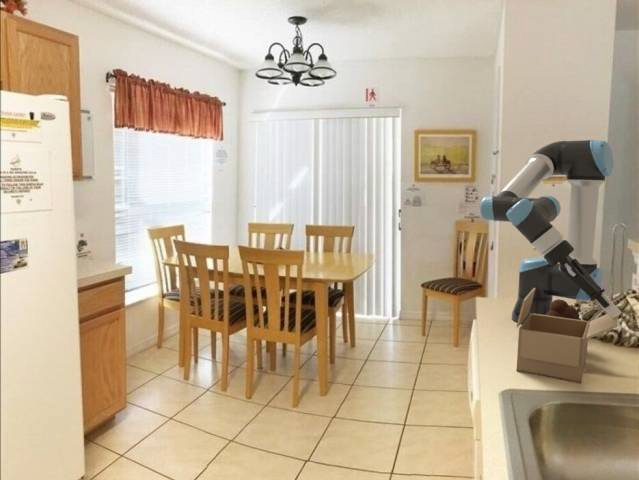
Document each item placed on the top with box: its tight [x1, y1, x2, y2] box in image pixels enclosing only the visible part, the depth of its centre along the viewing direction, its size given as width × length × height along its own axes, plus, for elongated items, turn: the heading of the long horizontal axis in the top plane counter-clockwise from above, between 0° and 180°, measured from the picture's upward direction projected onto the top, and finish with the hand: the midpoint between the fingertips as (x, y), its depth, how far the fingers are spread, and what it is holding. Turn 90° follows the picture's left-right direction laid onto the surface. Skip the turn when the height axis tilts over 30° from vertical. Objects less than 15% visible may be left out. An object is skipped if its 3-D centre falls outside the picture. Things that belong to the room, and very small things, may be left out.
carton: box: [516, 314, 590, 384], centre depth 151 cm, size 19×16×12 cm
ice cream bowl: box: [546, 298, 582, 320], centre depth 167 cm, size 11×11×15 cm
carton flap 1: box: [515, 288, 536, 328], centre depth 153 cm, size 18×8×1 cm
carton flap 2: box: [586, 313, 619, 340], centre depth 144 cm, size 18×8×1 cm
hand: (616, 315), depth 142 cm, fingers closed
